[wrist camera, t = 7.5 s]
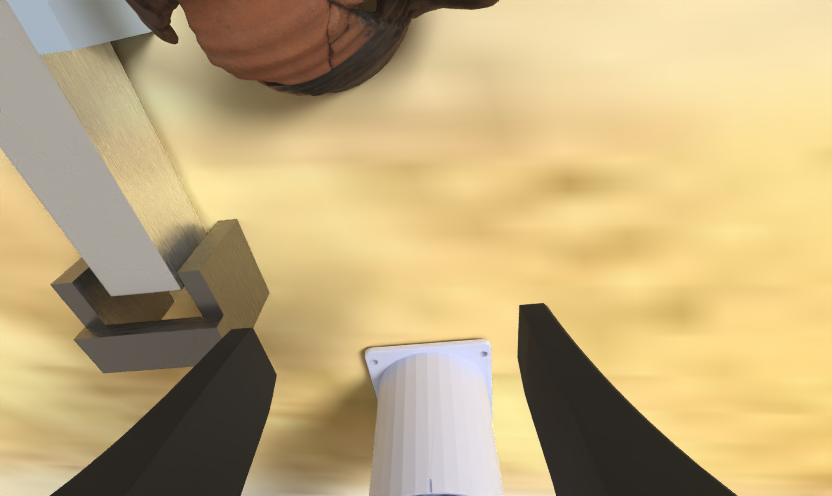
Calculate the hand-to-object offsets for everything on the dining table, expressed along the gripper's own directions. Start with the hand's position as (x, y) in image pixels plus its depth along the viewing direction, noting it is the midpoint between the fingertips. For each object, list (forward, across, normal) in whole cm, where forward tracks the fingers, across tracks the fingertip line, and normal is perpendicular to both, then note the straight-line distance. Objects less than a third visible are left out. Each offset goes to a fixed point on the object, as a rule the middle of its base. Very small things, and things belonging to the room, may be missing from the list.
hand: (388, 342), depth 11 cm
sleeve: (+10, +12, +4) cm, 16 cm away
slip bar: (+10, +12, -4) cm, 16 cm away
